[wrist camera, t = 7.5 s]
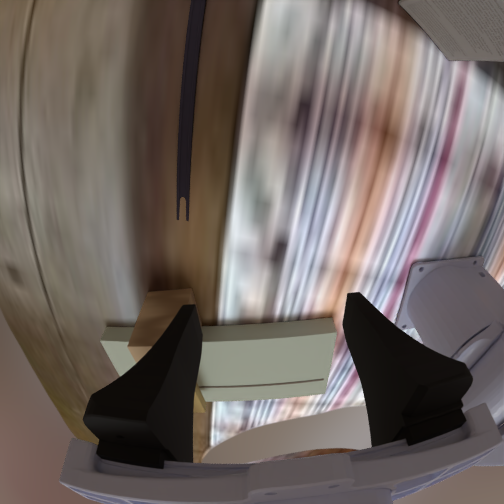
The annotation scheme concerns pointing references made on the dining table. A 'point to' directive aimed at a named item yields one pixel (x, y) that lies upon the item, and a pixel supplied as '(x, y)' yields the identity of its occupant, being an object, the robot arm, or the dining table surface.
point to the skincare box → (462, 27)
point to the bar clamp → (188, 100)
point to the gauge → (161, 326)
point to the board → (251, 359)
